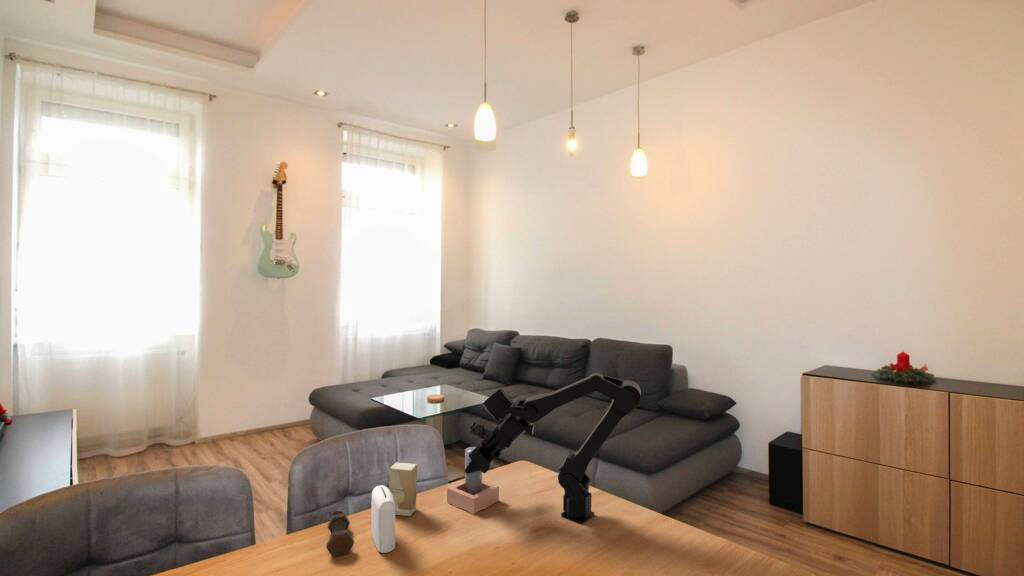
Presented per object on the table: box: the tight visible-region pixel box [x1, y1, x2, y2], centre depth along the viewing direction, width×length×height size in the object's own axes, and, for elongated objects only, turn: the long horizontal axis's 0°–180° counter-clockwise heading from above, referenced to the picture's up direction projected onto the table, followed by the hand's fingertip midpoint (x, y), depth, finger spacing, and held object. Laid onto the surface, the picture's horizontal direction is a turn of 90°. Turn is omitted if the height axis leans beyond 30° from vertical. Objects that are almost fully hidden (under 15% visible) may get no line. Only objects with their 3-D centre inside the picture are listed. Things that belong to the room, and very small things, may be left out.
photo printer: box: [370, 484, 396, 554], centre depth 113 cm, size 10×4×12 cm, turn 26°
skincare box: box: [388, 461, 418, 517], centre depth 128 cm, size 6×4×12 cm
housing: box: [446, 479, 500, 515], centre depth 134 cm, size 10×10×4 cm
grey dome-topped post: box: [464, 446, 483, 495], centre depth 134 cm, size 5×5×12 cm
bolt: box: [325, 511, 355, 558], centre depth 115 cm, size 6×5×15 cm
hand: (468, 468), depth 134 cm, fingers closed on grey dome-topped post, 5 cm apart
